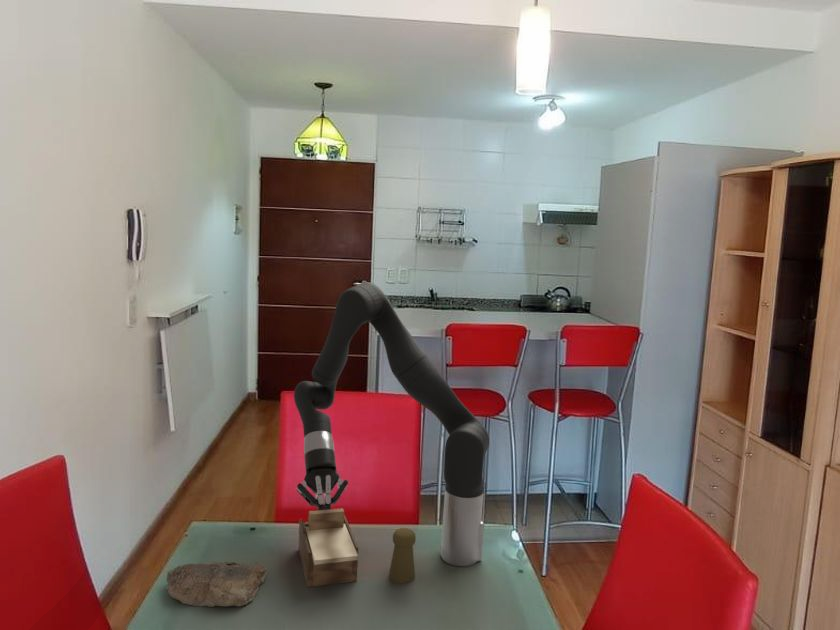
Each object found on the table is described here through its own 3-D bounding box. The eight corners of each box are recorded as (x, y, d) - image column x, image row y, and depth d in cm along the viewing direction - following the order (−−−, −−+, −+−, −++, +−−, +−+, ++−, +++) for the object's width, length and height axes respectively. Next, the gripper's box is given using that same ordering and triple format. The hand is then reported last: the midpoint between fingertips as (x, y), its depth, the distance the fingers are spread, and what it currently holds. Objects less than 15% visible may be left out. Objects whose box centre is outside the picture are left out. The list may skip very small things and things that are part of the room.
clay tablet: (152, 606, 131) (248, 613, 130) (151, 583, 131) (248, 591, 130) (181, 570, 145) (268, 576, 144) (181, 549, 145) (268, 556, 144)
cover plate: (344, 527, 153) (345, 507, 152) (357, 559, 139) (358, 538, 139) (305, 531, 150) (305, 511, 150) (314, 564, 136) (314, 542, 136)
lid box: (343, 545, 159) (344, 514, 158) (356, 581, 144) (358, 547, 143) (298, 549, 155) (299, 518, 154) (307, 587, 140) (308, 553, 139)
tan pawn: (383, 575, 147) (385, 530, 145) (401, 565, 151) (404, 521, 149) (402, 586, 143) (404, 540, 141) (420, 576, 147) (423, 531, 145)
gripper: (294, 448, 157) (298, 518, 147) (347, 445, 161) (355, 513, 151) (291, 460, 162) (295, 529, 153) (343, 457, 166) (350, 524, 157)
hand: (325, 521), depth 152 cm, fingers closed
